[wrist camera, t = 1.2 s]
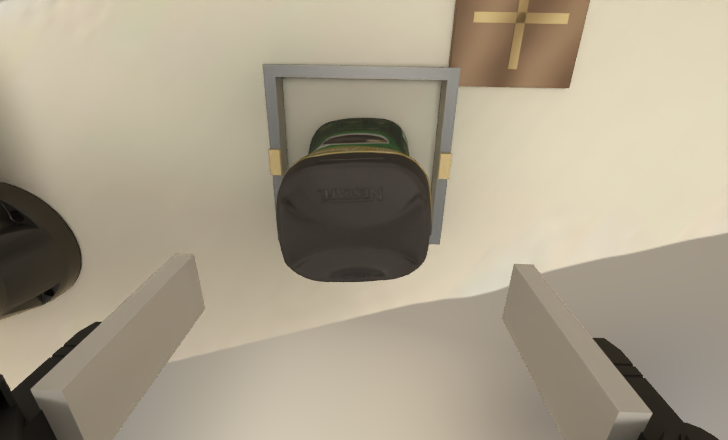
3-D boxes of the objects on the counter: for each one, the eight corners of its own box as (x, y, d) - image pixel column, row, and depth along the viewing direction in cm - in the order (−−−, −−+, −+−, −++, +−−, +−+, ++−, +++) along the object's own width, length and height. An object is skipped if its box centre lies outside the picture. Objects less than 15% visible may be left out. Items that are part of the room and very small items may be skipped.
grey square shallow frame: (283, 230, 39) (277, 242, 36) (270, 64, 32) (260, 63, 29) (435, 233, 39) (440, 247, 36) (454, 68, 32) (462, 68, 29)
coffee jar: (317, 195, 37) (272, 301, 20) (309, 119, 34) (248, 169, 17) (407, 191, 37) (439, 297, 20) (408, 114, 34) (446, 161, 17)
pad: (446, 85, 33) (448, 85, 32) (462, -60, 28) (465, -64, 28) (564, 87, 33) (569, 88, 32) (598, -58, 28) (605, -62, 27)
